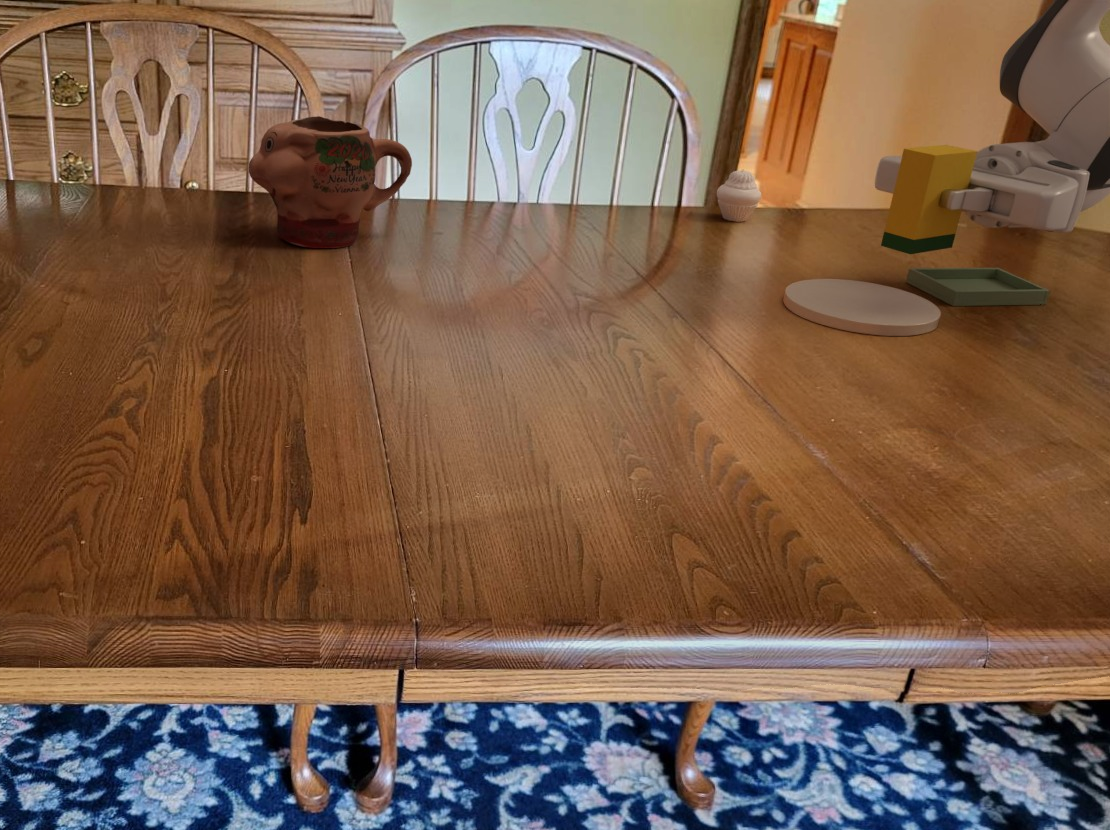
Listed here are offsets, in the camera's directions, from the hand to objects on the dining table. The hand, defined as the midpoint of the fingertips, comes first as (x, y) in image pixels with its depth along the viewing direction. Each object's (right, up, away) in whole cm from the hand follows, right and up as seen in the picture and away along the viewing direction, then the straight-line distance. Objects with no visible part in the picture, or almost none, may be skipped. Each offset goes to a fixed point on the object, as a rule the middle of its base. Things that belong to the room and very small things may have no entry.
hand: (924, 194), depth 113 cm
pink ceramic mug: (-63, 0, +24) cm, 67 cm away
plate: (-4, -11, +7) cm, 14 cm away
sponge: (0, -5, +3) cm, 6 cm away
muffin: (-7, +6, +44) cm, 45 cm away
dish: (+13, -8, +16) cm, 22 cm away
